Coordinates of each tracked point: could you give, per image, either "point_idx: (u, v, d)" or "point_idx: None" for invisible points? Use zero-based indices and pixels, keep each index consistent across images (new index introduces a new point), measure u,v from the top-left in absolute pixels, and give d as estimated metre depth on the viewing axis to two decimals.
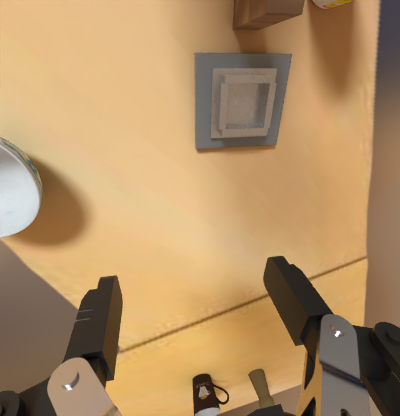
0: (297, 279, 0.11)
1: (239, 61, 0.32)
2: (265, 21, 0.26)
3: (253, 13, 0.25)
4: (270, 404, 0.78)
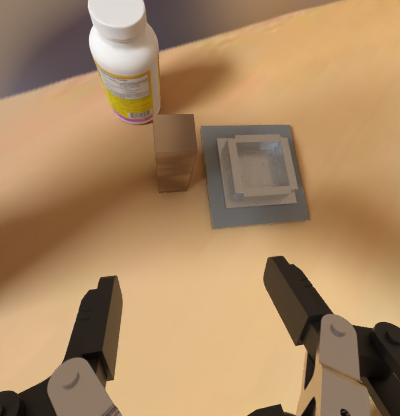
0: (297, 279, 0.11)
1: (215, 179, 0.30)
2: None
3: (187, 168, 0.23)
4: None
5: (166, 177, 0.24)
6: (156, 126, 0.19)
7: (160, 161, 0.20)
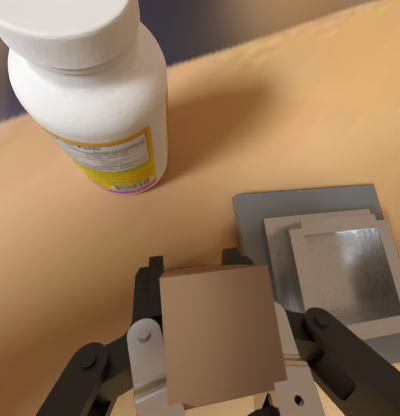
0: None
1: None
2: None
3: None
4: None
5: None
6: (171, 317, 0.07)
7: None
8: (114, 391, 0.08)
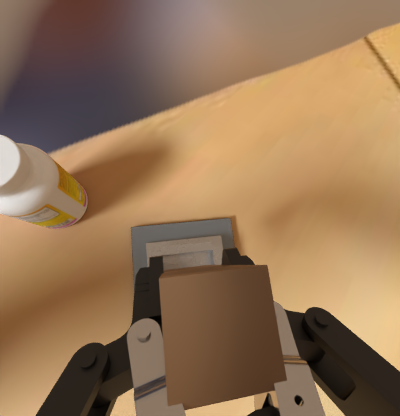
0: None
1: None
2: None
3: None
4: None
5: None
6: (170, 318, 0.07)
7: None
8: (114, 391, 0.08)
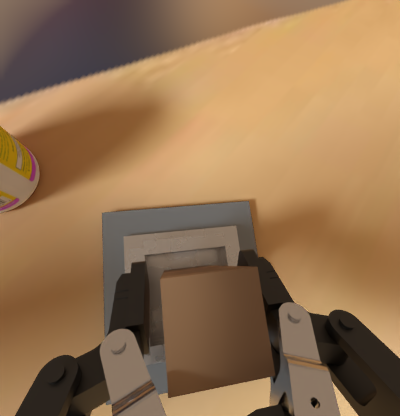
0: (263, 270, 0.11)
1: None
2: None
3: None
4: None
5: None
6: (170, 313, 0.08)
7: None
8: (86, 405, 0.08)
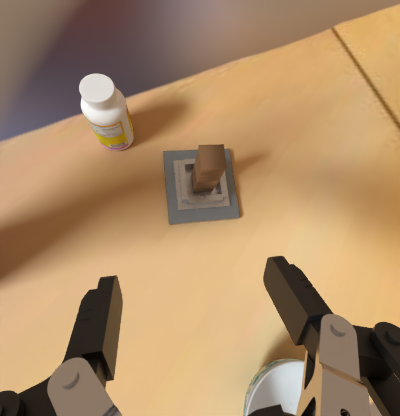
0: (297, 279, 0.11)
1: (171, 190, 0.42)
2: None
3: (217, 177, 0.35)
4: None
5: (202, 182, 0.37)
6: (202, 152, 0.32)
7: (203, 173, 0.33)
8: None
